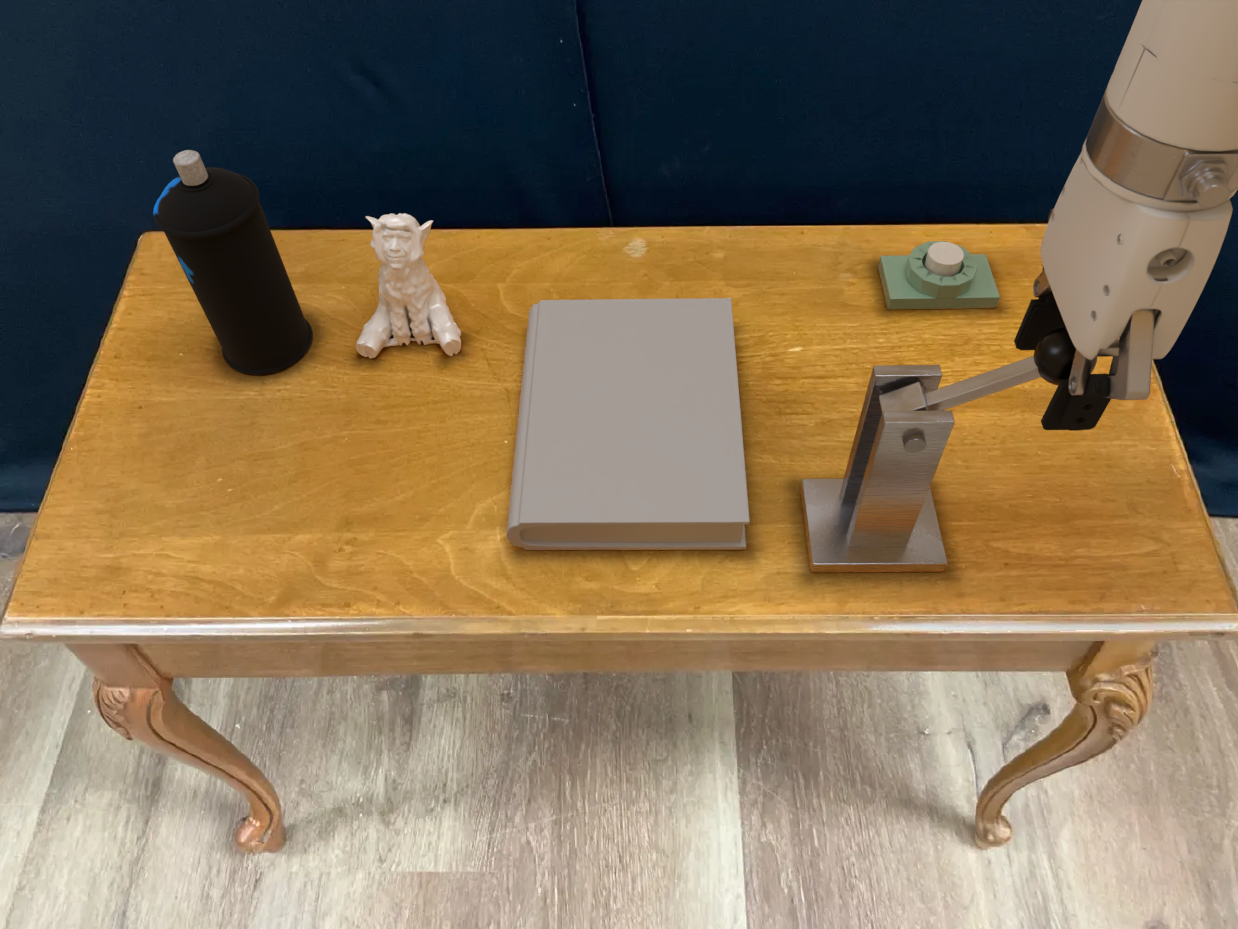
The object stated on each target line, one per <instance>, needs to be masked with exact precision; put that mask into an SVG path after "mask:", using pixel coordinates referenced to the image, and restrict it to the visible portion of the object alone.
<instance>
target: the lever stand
mask: <svg viewBox="0 0 1238 929" xmlns="http://www.w3.org/2000/svg"><path fill="white" fill-rule="evenodd" d="M942 378H943V372H942V368H941V365H940V364H896V365H895V364H892V365H891V364H890V365H889V364H887V365H883V364H882V365H881V364H879V365H873V366H872V370H871V374H870V377H869V381H868V385H867V389H866V392H865V397H864V400H863V403H862V408H861V411H860V415H859V418H858V422H857V425H856V426H857V427H856V431H855V434H854V437H853V438H854V439H853V442H852V446H851V449H850V453H849V456H848V460H847V464H846V468H845V472H844V475H843V478H842V477H841V478H802V479H801V481H800V486H799V491H800V500H801V506H802V514H803V515H802V516H803V522H804V530H805V537H806V545H807V552H808V553H807V554H808V561H809V570H810V573H929V572H930V573H932V572H933V573H939V572H941V573H943V572H944V573H945V571H946V568H947V566H948V564H949V563H948V558H947V554H946V549H945V544H944V541H943V536H942V531H941V528H940V523H939V519H938V515H937V511H936V506H935V503H934V502H935V501H934V498H933V494H932V493H933V492H932V489H931V484H932V483H933V479H934V477H935V474H936V472H937V469H938V468H939V464H940V461H941V459H942V457H943V454H944V451H945V450H946V446H947V444H948V441H949V439H950V436H951V433H952V430H953V429H954V426H955V423H956V422H955V417H954V413H953V410H943V411H883V413H882V410H881V405H880V400H879V396H880V395H883V394H886V393H888V392H891V391H894V390H897V389H900V388H902V387H905V386H908V385H911V384H914V383H917V382H920V383H921V385H922V387H923V389H924V391H925V393H928V392H930V391H933V390H936V389H939V386H940V384H941V381H942Z"/></svg>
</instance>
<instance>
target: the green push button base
mask: <svg viewBox="0 0 1238 929" xmlns="http://www.w3.org/2000/svg"><path fill="white" fill-rule="evenodd" d="M937 242H948V241H946V240H933V241H931V240H929V241H925V242H923V243H921V244H918V245H917V246H915V247H913V249H912V251H911V252H910V254H906V255H899V254H898V255H897V254H896V255H895V254H894V255H880V256H879V259H878V264H877V269H878V274H879V277H880V283H881V287H882V291H883V295H884V300H885V304H886V308H887V310H948V309H949V310H952V309H954V310H955V309H956V310H957V309H963V310H964V309H996V308H997V307H998V304H999V300H1000V298H1001V296H1000V293H999V291H998V287H997V284H996V280H995V277H994V275H993V272H992V268H991V266H990V263H989V260H988V257H987V254H984V253H978V254H977V253H973V254H972V253H971V252H970V251H968V249H966V248H965V247H964V246H962V245H959V244H956V243H954V244H955V245H957V246H959V247H960V248H961V249H962V251H963V253H964V258H963V261H962V264H961V267H960V270H959V272H958V273H957V274H956V275H954V276H951V277H942V276H939V275H936V274H933V273H930V272H929V271H928V270H927V269H926V267H925V259H926V256H927V252H928V249H929V247H930V246H931V245H932V244H934V243H937Z"/></svg>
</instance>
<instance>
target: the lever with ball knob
mask: <svg viewBox="0 0 1238 929" xmlns="http://www.w3.org/2000/svg"><path fill="white" fill-rule="evenodd" d="M1033 351H1034V352H1033V355H1032V356H1029V357H1026V358H1022V359H1019V360H1017V361H1014V362H1011V363H1008V364H1006V365H1002V366H999V367H997V368H993V369H991V370H988V371H985V372H983V373H980V374H977V375H974V376H971V377H967V378H965V379H962V380H959V381H956V382H954V383H951V384H948V385H945V386H942V387H940V388H939V387H938V389H936V390H933V391H930V392H928V393H925V391H924V389H923V387H922V385H921V383H920V382H917V383H914V384H911V385H908V386H905V387H902V388H900V389H897V390H894V391H891V392H888V393H886V394H883V395H880V396H879V400H880V405H881V410H882V413H883V411H947V410H948V409H951V408H954V407H958V406H960V405H963V404H966V403H969V402H972V401H975V400H978V399H982V398H983V397H987V396H990V395H993V394H996V393H998V392H1002V391H1005V390H1009V389H1010V388H1015V387H1016V386H1017V387H1018V386H1020V385H1022V384H1026V383H1029V382H1031V381H1035V380H1038V379H1040V378H1042V379H1043V380H1044V381H1046V382H1047V383H1049V384H1052V385H1054V386H1058V385H1059V383H1060V381H1062V380H1065V379H1069V378H1070V373H1071V369H1072V365H1073V360H1074V356H1075V352H1076V348H1075V346H1074V344H1073V342H1072V340H1071V338H1070V336H1069V333H1068V331H1067V328H1060V329H1056V330H1053V331H1051V332H1049V333H1048V334H1046V335H1045V336H1044V337H1043V338H1042V339H1041V340H1040V341H1039V342H1038V344H1037V346H1036V348H1035V350H1033ZM1097 362H1098V357H1095V358H1094V359H1093V362H1092V366H1091V370H1090V374H1093V371H1094V370H1095V369H1096V368H1095V367H1096V365H1097Z"/></svg>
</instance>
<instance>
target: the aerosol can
mask: <svg viewBox="0 0 1238 929" xmlns="http://www.w3.org/2000/svg"><path fill="white" fill-rule="evenodd" d="M172 162H173V164H174V167H175V168H176V171H177V173H178V176H176V177H175V178H174V179H172V180H171V181H170V182H169V183H168V184H167V185H166V186H165V187H164V189H163V191H162V192H161V194H160V196H159V197H158V198H157V200H156V202H155V204H154V206H153V211H152V216H153V221H154V223H155V225H156V227H157V228H159V229H160V230H161V231H162V232H163V233H164V235H165V237H166V239H167V241H168V243H169V245H170V248H171V249H172V251H173V253H174V255H175V257H176V259H177V261H178V263H179V265H180V267H181V269H182V271H183V273H184V275H185V277H186V279H187V281H188V284H189V285H190V287H191V289H192V291H193V293H194V295H195V297H196V299H197V301H198V303H199V305H200V307H201V309H202V311H203V313H204V315H205V317H206V319H207V321H208V323H209V325H210V327H211V329H212V331H213V333H214V335H215V337H216V339H217V341H218V343H219V345H220V347H221V353H222V358H223V360H224V361H225V363H226V364H227V365H228V366H229V367H230V368H231V369H233V370H234V371H237V372H239V373H242V374H244V375H245V374H246V375H251V376H261V375H262V376H263V375H269V374H274V373H277V372H280V371H282V370H285V369H287V368H289V367H291V366H293V365H294V364H295V363H297V362H299V361H300V359H301V358H303V357H304V355H305V354H306V353H307V352H308V351H309V349H310V347H311V345H312V341H313V328H312V326H311V323H310V322H309V321H308V320H307V319H306V318H305V316H304V313H303V311H302V307H301V305H300V303H299V300H298V298H297V295H296V293H295V290H294V287H293V285H292V282H291V279H290V277H289V274H288V272H287V268H286V267H285V264H284V261H283V258H282V256H281V254H280V251H279V249H278V246H277V244H276V240H275V239H274V236H273V233H272V231H271V228H270V226H269V223H268V221H267V219H266V216H265V213H264V210H263V207H262V205H261V203H260V191H259V188H258V187H257V185H256V184H255V182H254V181H253V180H251V179H250V178H249V177H247V176H246V175H243V174H240V173H237V172H234V171H231V170H228V169H224V168H221V167H214V166H213V167H212V166H211V167H205V164H204V162H203V160H202V157H201V155H200V153H199V152H198V151H196V150H193V149H185V150H182V151H180V152H177V153H176V154H175V155H174V157H173V159H172Z"/></svg>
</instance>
